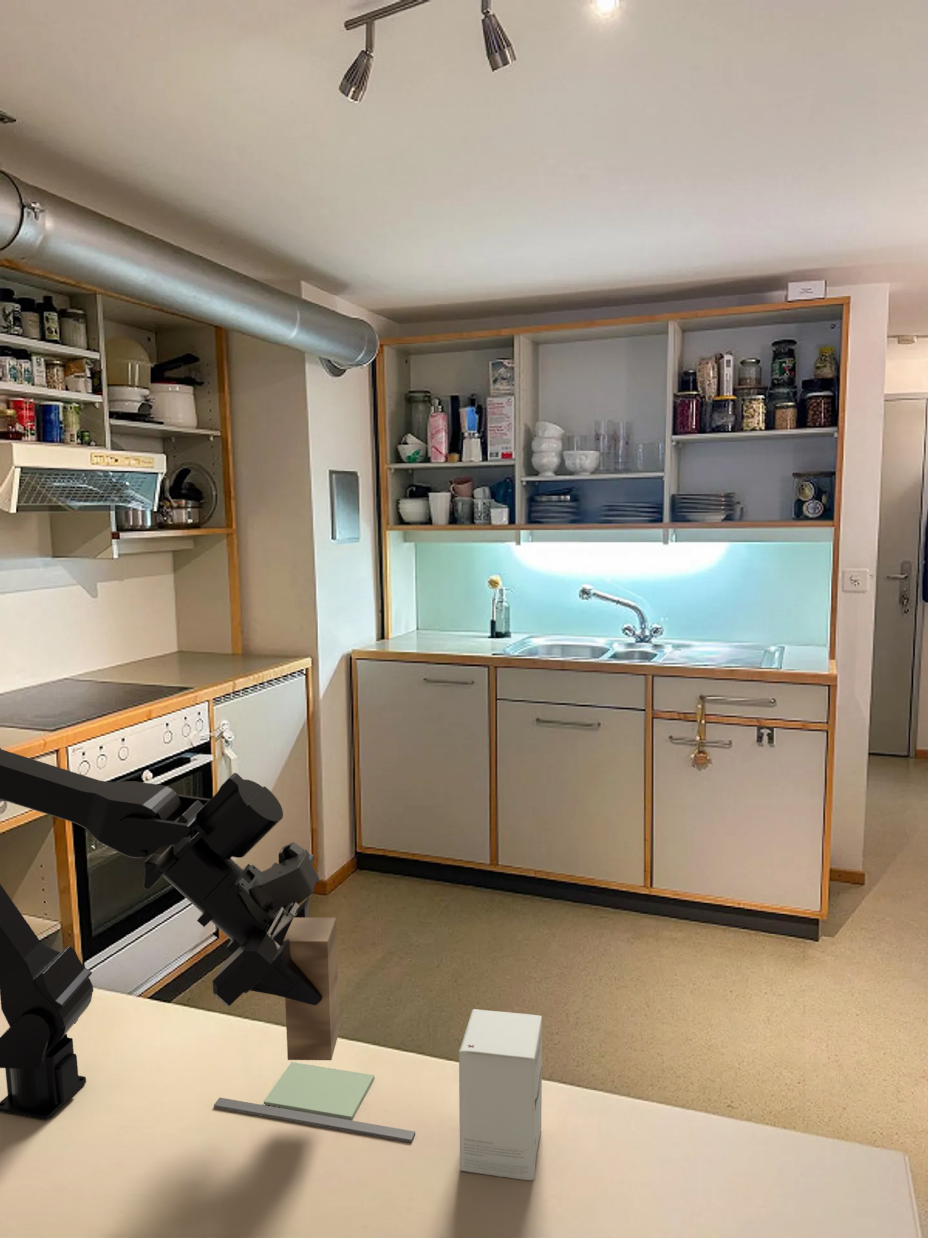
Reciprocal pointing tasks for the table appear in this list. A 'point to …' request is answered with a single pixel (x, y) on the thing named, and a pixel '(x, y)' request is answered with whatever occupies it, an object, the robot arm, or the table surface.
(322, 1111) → the mat
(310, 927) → the walnut post
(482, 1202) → the table surface
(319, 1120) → the charcoal strip
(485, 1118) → the supplement box
